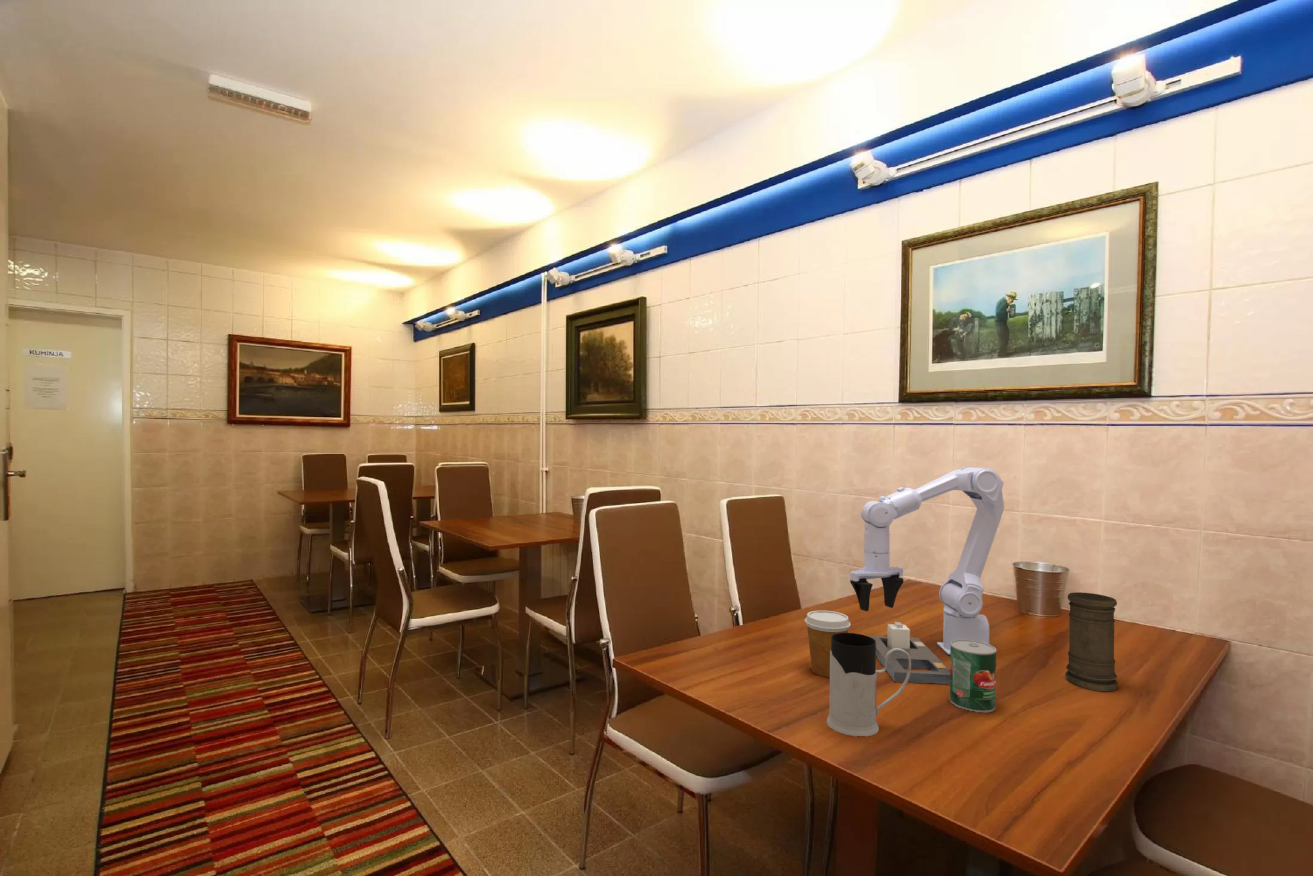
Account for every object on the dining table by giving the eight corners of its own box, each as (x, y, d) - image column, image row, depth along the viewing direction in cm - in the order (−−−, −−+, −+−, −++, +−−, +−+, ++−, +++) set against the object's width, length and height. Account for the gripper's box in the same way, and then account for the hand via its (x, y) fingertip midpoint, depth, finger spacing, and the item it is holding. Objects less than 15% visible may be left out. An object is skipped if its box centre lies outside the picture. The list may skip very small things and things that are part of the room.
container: (1102, 695, 123) (1104, 604, 123) (1056, 679, 131) (1057, 594, 131) (1127, 687, 127) (1128, 599, 127) (1080, 672, 135) (1081, 589, 135)
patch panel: (918, 646, 151) (918, 637, 151) (954, 685, 127) (954, 674, 127) (867, 643, 152) (867, 635, 152) (894, 681, 128) (894, 671, 128)
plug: (904, 649, 148) (904, 621, 148) (909, 655, 145) (909, 626, 145) (887, 649, 149) (887, 620, 149) (891, 654, 145) (892, 625, 145)
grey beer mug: (822, 712, 114) (823, 630, 114) (902, 716, 112) (903, 634, 112) (831, 735, 105) (832, 646, 105) (918, 740, 104) (919, 650, 104)
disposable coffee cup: (852, 667, 136) (853, 613, 136) (846, 683, 127) (847, 624, 127) (808, 660, 140) (809, 607, 140) (800, 675, 131) (800, 618, 131)
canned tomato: (994, 716, 113) (995, 656, 113) (946, 706, 117) (947, 648, 117) (997, 701, 120) (997, 644, 120) (952, 692, 124) (952, 636, 124)
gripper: (888, 546, 155) (888, 601, 155) (841, 551, 149) (841, 607, 149) (909, 551, 148) (909, 608, 148) (861, 556, 143) (861, 615, 143)
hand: (876, 608), depth 148 cm, fingers open, 7 cm apart
